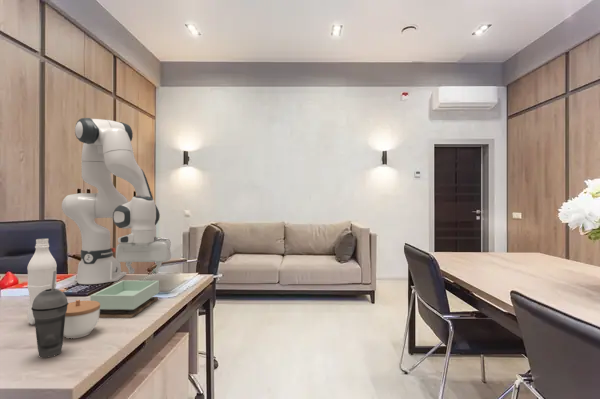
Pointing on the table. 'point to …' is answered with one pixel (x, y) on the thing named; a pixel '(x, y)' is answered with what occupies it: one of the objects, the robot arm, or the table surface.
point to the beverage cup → (50, 320)
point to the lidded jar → (81, 318)
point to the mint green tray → (126, 294)
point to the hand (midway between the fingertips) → (143, 273)
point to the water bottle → (40, 273)
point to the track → (123, 312)
